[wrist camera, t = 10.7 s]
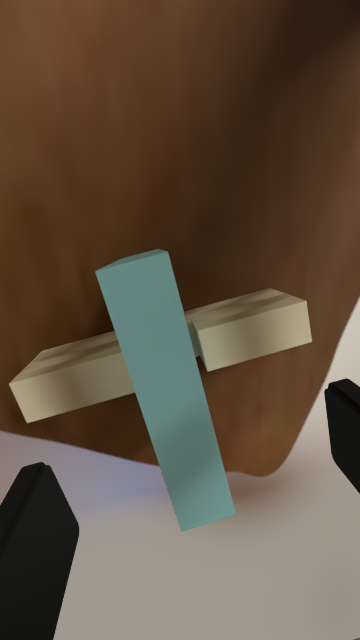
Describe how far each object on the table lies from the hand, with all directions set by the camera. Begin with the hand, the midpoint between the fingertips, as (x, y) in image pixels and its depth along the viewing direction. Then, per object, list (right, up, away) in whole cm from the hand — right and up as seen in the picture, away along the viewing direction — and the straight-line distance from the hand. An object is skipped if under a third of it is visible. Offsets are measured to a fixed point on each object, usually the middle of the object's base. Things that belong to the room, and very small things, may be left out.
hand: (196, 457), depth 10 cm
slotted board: (-2, +3, +15) cm, 16 cm away
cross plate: (-2, +3, +15) cm, 16 cm away
